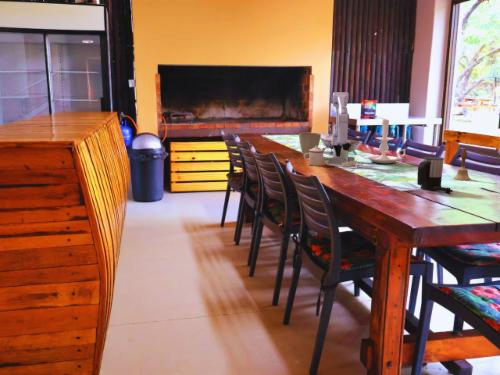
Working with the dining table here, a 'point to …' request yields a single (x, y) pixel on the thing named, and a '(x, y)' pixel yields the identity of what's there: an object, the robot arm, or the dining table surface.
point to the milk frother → (431, 174)
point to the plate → (344, 154)
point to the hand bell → (462, 169)
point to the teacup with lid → (315, 156)
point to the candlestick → (385, 147)
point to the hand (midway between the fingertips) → (341, 156)
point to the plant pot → (308, 142)
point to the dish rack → (341, 161)
